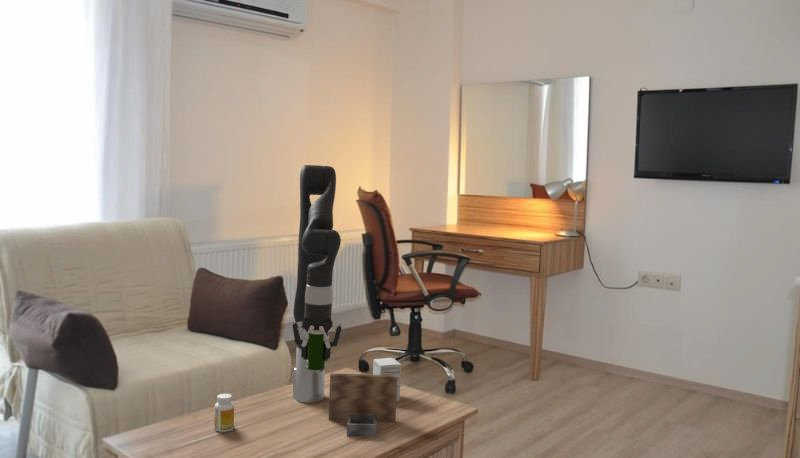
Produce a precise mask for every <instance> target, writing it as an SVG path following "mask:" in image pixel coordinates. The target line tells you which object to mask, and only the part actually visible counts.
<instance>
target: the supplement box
mask: <svg viewBox="0 0 800 458" xmlns="http://www.w3.org/2000/svg"><path fill="white" fill-rule="evenodd" d="M372 361H373V362H372V363H373V364H372V375H397V377H398V378H397V401H396V402H400V400H401V376H402V364H401V363H400V362H399V361H398V360H396V359H395V358H394V357H385V358H374V359H373V360H372Z"/></svg>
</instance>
